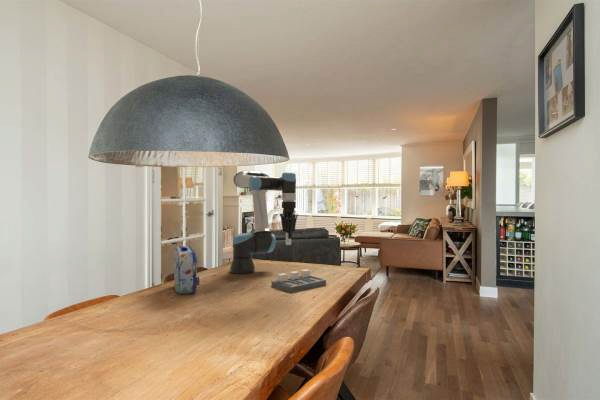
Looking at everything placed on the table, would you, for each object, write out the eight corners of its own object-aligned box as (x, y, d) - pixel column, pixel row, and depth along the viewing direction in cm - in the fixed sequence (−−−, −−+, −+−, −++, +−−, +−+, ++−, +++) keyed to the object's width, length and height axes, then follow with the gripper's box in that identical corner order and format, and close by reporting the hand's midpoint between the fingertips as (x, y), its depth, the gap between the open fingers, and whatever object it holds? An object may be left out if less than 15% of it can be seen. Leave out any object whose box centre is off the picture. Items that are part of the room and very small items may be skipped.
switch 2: (300, 276, 191) (300, 270, 190) (306, 275, 193) (306, 269, 193) (304, 277, 188) (304, 271, 188) (309, 276, 191) (310, 270, 191)
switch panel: (271, 286, 181) (271, 280, 181) (305, 279, 196) (305, 273, 196) (291, 292, 169) (291, 286, 169) (326, 284, 184) (326, 278, 184)
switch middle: (289, 278, 185) (289, 272, 185) (295, 277, 188) (295, 271, 188) (293, 279, 183) (293, 273, 183) (298, 278, 186) (298, 272, 186)
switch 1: (277, 281, 180) (277, 274, 180) (283, 279, 183) (283, 273, 183) (281, 282, 178) (281, 275, 178) (287, 280, 180) (287, 274, 180)
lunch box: (200, 295, 162) (201, 248, 162) (177, 298, 157) (177, 249, 157) (192, 282, 187) (192, 241, 187) (171, 284, 182) (171, 242, 182)
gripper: (275, 201, 192) (275, 244, 192) (291, 201, 182) (290, 246, 182) (286, 201, 196) (286, 242, 197) (301, 201, 187) (301, 245, 187)
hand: (288, 244), depth 189 cm, fingers closed
